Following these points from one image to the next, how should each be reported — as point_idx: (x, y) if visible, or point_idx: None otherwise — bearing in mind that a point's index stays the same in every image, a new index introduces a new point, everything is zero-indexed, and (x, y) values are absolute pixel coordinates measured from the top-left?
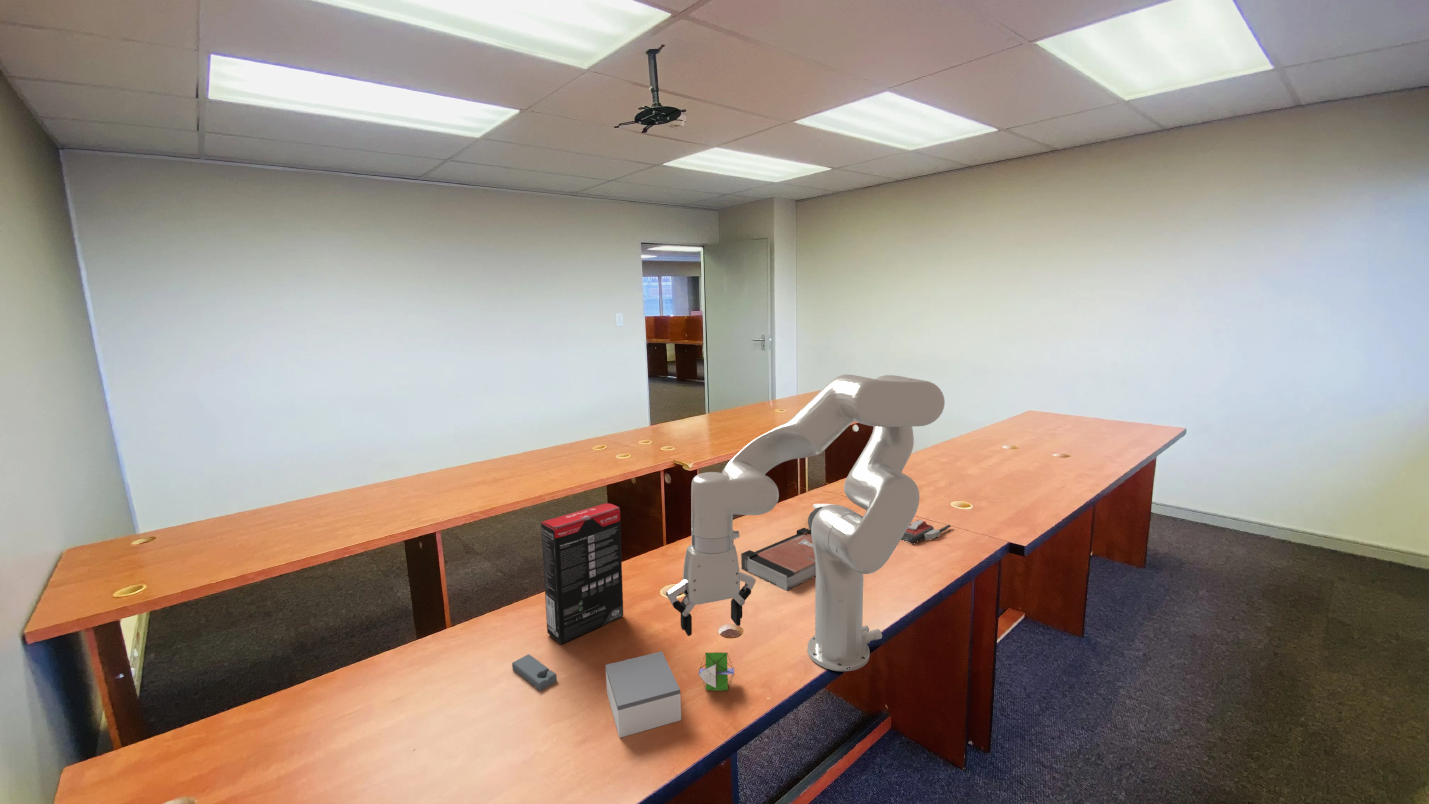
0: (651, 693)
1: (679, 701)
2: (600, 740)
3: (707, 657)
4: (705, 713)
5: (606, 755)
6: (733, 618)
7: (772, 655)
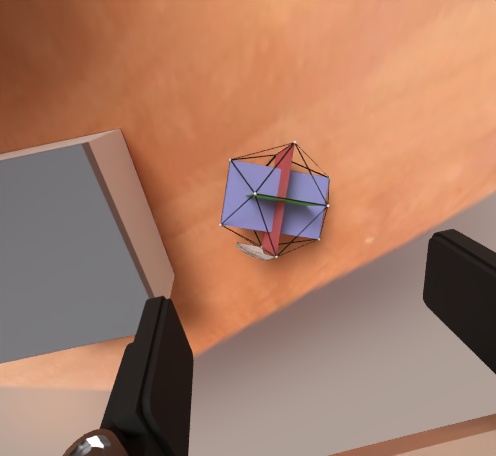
0: (82, 335)
1: None
2: None
3: (258, 195)
4: (227, 264)
5: None
6: (438, 276)
7: (461, 78)
